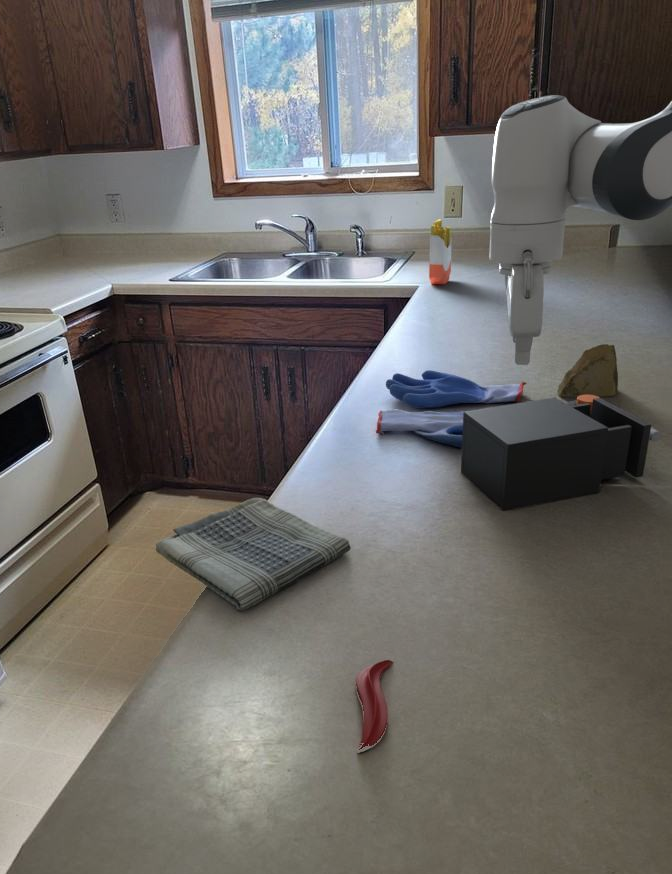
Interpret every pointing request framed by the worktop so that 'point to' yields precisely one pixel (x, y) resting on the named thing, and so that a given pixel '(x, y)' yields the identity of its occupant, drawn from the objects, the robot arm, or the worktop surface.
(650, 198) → the robot arm
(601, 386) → the rock
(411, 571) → the worktop surface
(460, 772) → the worktop surface
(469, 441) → the matte charcoal box
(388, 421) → the pair of gloves
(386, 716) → the cayenne pepper
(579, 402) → the button
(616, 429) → the drawer
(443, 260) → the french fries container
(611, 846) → the worktop surface
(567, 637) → the worktop surface
